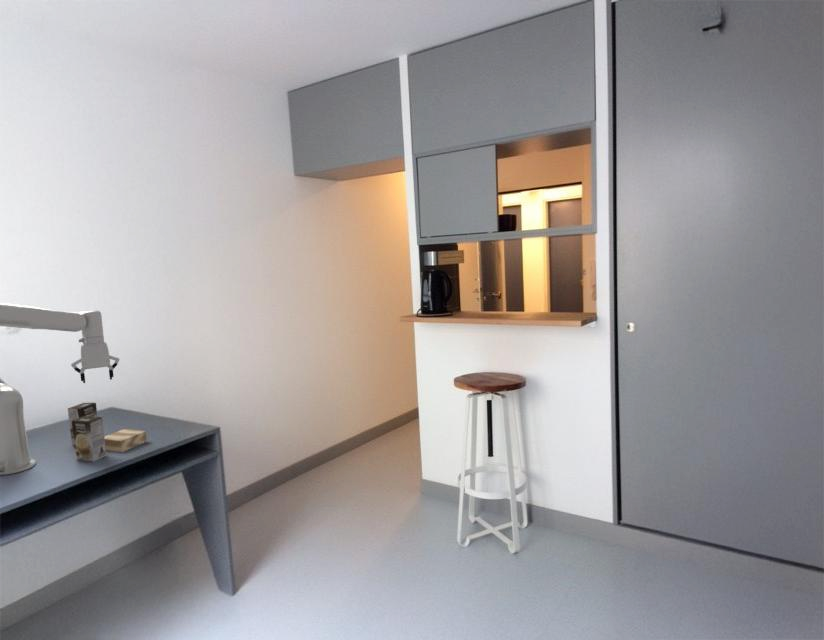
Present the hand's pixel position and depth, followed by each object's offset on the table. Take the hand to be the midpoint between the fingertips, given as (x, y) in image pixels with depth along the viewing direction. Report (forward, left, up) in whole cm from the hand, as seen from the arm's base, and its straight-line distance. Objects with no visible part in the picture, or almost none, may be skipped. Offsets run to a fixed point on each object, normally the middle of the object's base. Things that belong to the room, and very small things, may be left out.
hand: (97, 380), depth 222 cm
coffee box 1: (-1, +10, -27) cm, 29 cm away
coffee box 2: (-14, -10, -27) cm, 32 cm away
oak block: (0, -11, -28) cm, 29 cm away
